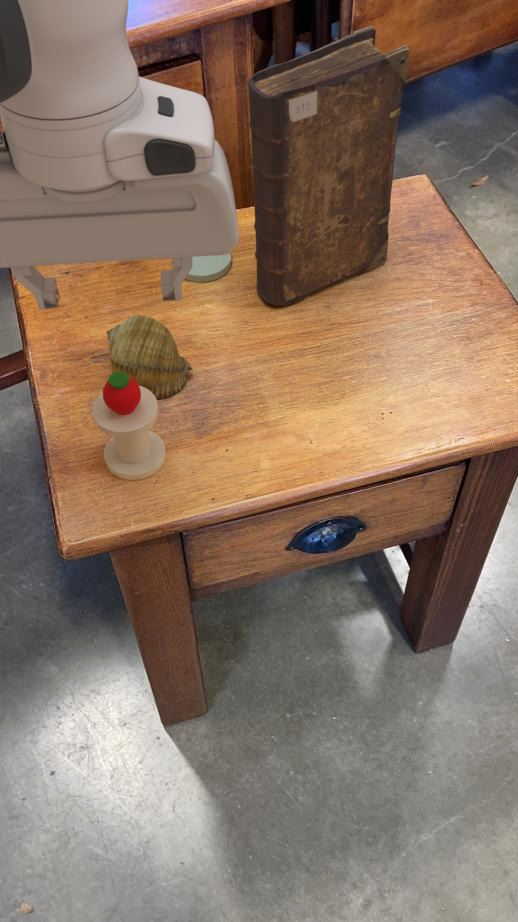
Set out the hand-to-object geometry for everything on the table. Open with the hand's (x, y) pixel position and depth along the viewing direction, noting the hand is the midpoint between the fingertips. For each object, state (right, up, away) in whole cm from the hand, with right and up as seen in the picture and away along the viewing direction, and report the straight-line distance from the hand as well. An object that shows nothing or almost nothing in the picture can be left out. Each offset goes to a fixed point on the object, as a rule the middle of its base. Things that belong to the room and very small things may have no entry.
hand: (111, 300), depth 64 cm
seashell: (-1, -2, +25) cm, 25 cm away
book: (+17, +12, +34) cm, 40 cm away
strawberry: (-1, -7, +12) cm, 14 cm away
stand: (-1, -11, +17) cm, 21 cm away
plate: (+3, +13, +35) cm, 38 cm away
